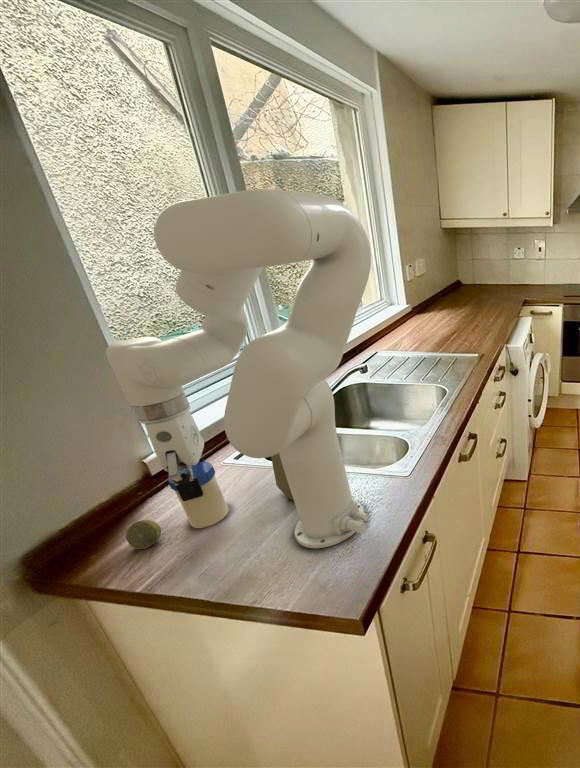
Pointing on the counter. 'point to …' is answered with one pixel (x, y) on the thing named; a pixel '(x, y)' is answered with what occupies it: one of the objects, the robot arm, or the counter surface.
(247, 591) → the counter surface
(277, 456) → the squeeze bottle
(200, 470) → the lid
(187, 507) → the jar
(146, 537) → the lime
